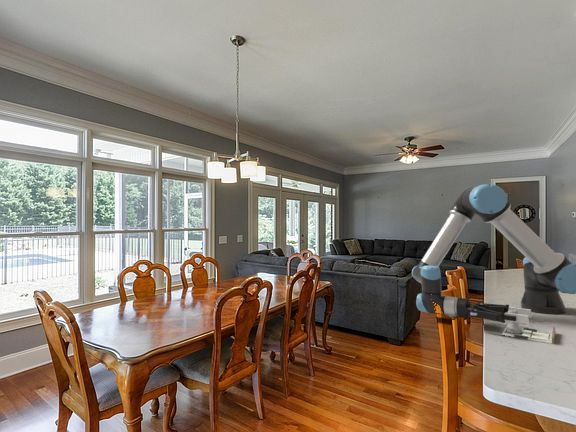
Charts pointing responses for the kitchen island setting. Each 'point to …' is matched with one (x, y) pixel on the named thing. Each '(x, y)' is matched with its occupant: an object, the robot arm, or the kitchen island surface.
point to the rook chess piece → (513, 324)
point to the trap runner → (534, 335)
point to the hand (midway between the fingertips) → (529, 316)
